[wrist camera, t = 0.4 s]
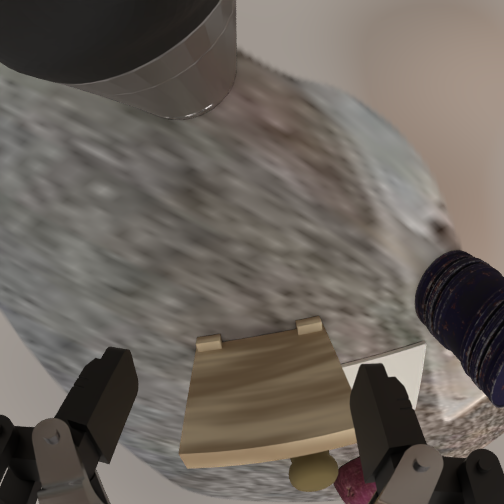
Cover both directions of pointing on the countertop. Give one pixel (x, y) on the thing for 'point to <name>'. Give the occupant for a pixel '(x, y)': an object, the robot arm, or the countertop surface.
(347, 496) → the vegetable
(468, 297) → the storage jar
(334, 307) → the countertop surface
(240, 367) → the maple board
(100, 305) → the countertop surface
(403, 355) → the coaster
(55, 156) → the countertop surface
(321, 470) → the cork
